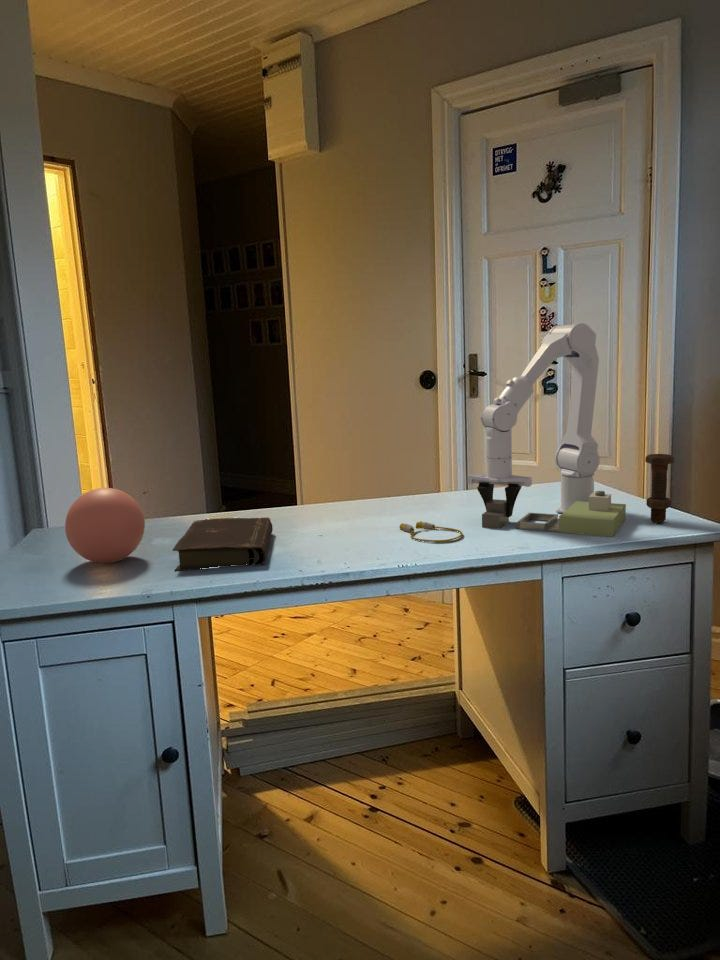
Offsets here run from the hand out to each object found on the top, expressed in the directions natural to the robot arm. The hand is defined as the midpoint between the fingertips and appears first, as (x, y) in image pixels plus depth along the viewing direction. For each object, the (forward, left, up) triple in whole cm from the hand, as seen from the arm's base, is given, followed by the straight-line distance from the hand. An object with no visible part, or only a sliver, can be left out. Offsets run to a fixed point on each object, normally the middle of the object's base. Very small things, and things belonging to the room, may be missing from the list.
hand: (499, 515), depth 168 cm
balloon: (+55, -66, -2) cm, 86 cm away
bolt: (-10, +33, -2) cm, 34 cm away
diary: (+42, -46, -2) cm, 63 cm away
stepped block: (+3, 0, -1) cm, 3 cm away
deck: (-3, +21, -1) cm, 21 cm away
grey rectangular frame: (0, +10, -1) cm, 10 cm away
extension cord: (+15, -10, -2) cm, 19 cm away
